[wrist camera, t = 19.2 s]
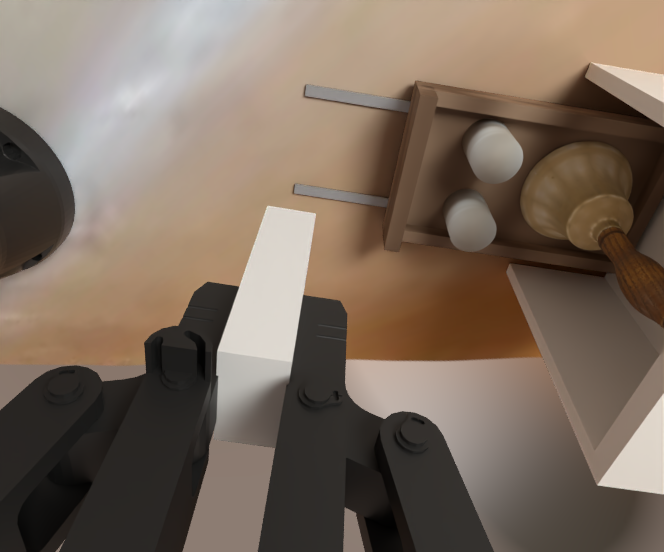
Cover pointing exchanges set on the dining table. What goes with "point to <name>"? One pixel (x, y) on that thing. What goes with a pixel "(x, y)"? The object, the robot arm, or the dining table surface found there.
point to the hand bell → (594, 215)
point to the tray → (536, 140)
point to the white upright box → (586, 322)
